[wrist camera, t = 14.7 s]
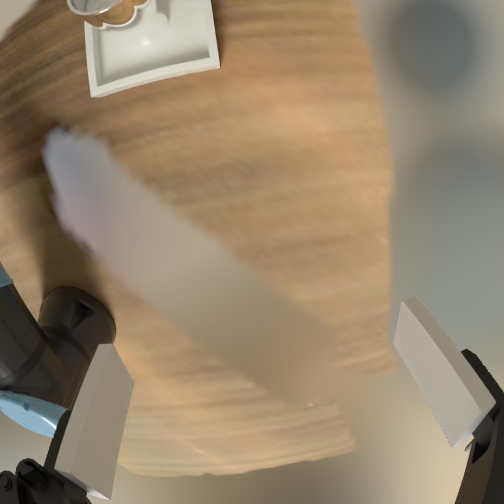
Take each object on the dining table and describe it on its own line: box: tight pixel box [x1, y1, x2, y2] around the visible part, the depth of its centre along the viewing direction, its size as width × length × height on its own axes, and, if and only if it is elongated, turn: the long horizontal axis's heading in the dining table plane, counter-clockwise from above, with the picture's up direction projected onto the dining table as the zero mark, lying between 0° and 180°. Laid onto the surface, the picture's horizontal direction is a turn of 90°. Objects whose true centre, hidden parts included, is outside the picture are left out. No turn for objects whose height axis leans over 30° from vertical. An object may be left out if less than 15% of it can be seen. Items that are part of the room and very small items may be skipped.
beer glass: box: [67, 0, 168, 47], centre depth 20 cm, size 7×7×15 cm
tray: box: [84, 0, 220, 98], centre depth 26 cm, size 16×16×3 cm
